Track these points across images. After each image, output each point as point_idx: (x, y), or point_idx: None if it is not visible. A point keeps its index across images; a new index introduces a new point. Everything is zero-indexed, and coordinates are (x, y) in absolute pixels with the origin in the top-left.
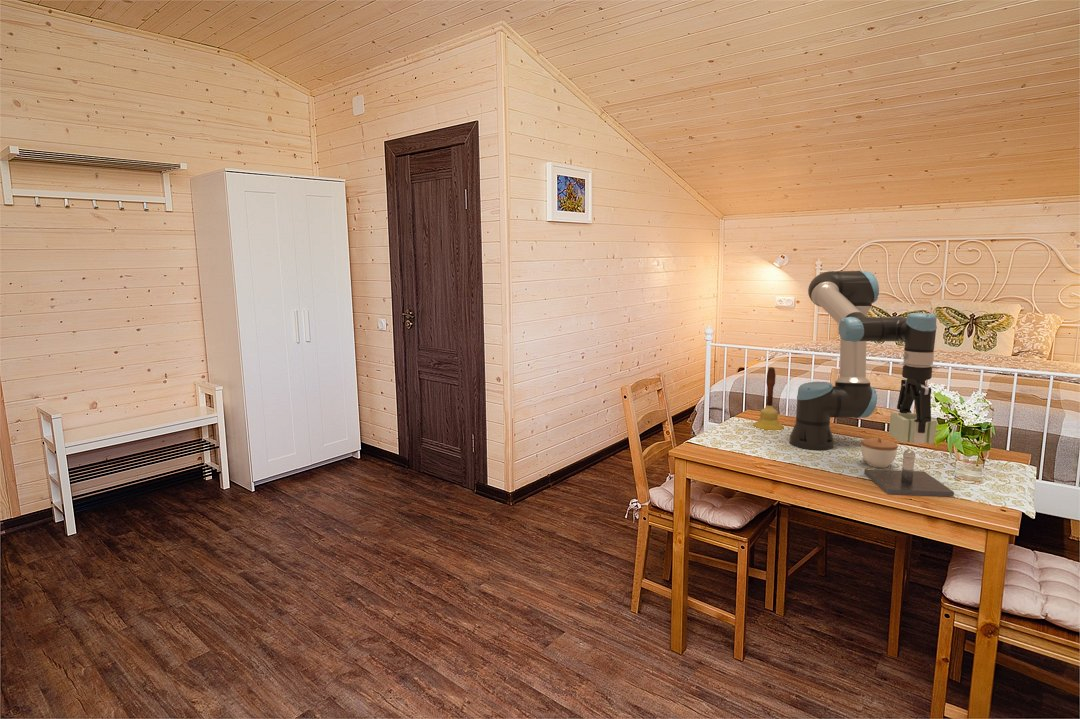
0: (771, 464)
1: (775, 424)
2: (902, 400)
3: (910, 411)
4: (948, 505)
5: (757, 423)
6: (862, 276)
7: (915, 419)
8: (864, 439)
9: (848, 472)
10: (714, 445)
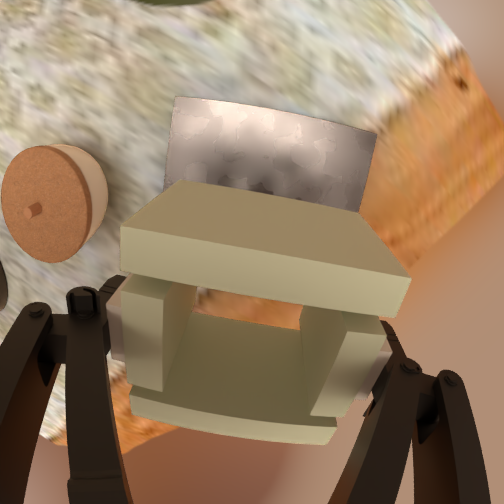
0: (124, 411)
1: None
2: (37, 403)
3: (89, 301)
4: (421, 196)
5: None
6: None
7: (331, 393)
8: (17, 239)
9: None
10: (47, 424)
